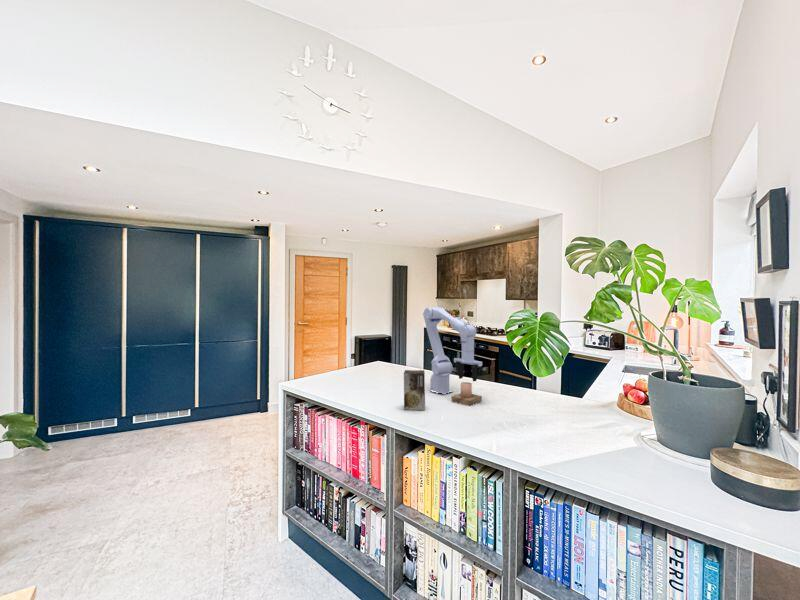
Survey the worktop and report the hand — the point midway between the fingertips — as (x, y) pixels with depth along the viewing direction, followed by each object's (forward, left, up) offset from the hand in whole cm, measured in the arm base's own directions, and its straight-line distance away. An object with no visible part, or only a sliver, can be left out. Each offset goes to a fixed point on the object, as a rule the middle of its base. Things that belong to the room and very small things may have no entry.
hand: (467, 379), depth 166 cm
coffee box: (-10, -26, -10) cm, 30 cm away
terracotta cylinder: (+1, -2, -7) cm, 8 cm away
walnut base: (+1, -2, -10) cm, 10 cm away
